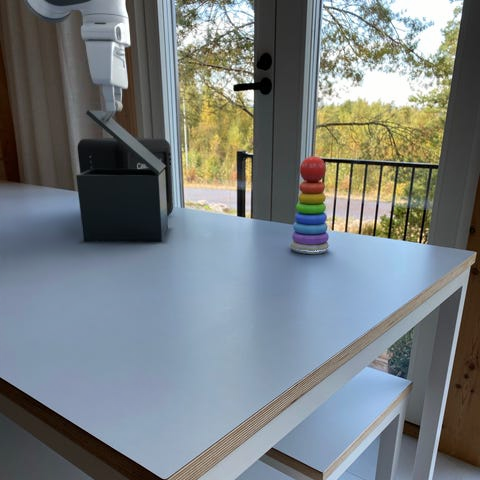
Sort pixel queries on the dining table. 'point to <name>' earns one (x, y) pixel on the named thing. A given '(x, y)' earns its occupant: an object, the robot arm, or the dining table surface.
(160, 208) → the waste bin
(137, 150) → the bin lid
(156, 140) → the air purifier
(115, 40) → the robot arm
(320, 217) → the stacking toy
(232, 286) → the dining table surface
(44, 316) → the dining table surface
